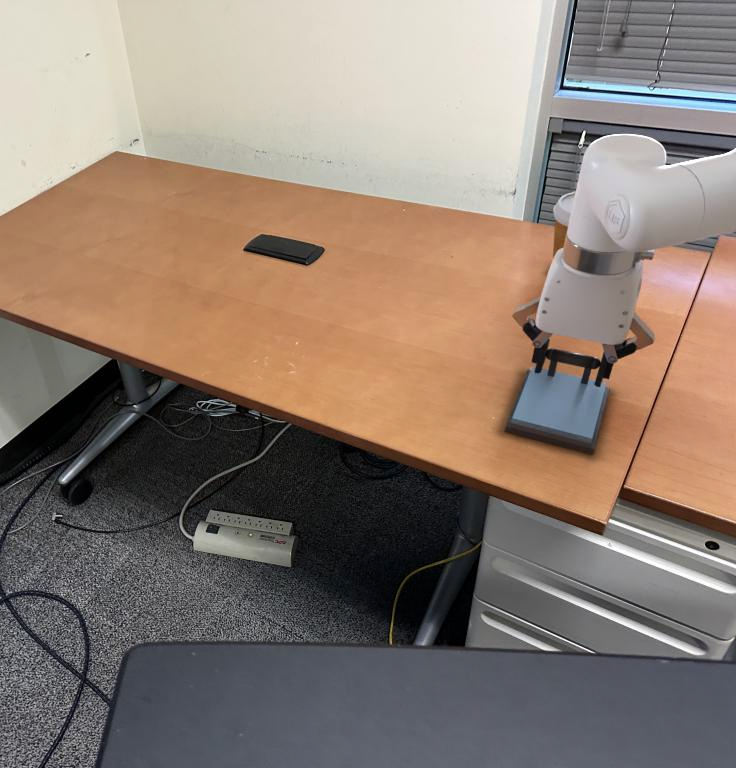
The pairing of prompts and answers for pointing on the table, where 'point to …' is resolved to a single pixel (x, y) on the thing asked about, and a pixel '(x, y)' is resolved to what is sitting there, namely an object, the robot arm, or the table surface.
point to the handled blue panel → (562, 396)
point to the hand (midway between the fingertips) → (568, 372)
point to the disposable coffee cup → (562, 220)
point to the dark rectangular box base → (554, 436)
